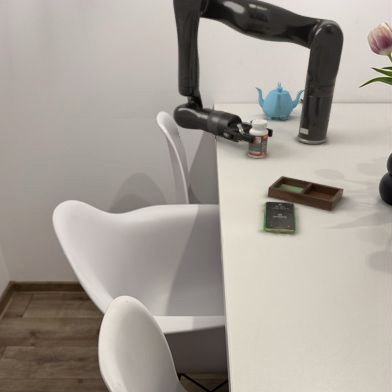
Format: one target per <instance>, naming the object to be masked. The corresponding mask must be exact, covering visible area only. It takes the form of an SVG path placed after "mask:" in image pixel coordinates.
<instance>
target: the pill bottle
mask: <svg viewBox="0 0 392 392" xmlns="http://www.w3.org/2000/svg"><path fill="white" fill-rule="evenodd" d="M252 120H253V121H252ZM252 120H251V121H252V129H250V132H249V134H251V135H254V136H255V143H253V144H251V143H248V148H247V155H248V156H249V157H250V158H254V159H262V158H264V157H266V155H267V148H268V138H269V137H268V130H267V129H266V128H268V121H267V120H266V119H262V118H261V119H260V118H258V119H252Z"/></svg>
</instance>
